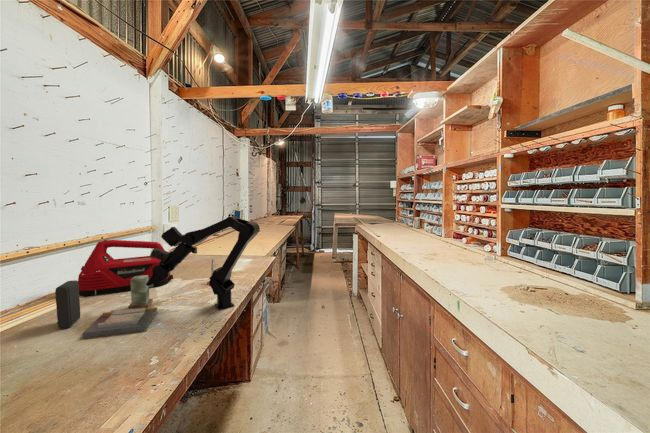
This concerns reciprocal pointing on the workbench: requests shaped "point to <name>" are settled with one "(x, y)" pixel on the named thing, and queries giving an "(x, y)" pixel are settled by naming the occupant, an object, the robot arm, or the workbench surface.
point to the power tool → (116, 269)
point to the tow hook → (212, 269)
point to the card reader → (67, 304)
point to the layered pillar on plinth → (140, 292)
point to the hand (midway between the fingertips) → (150, 281)
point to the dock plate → (121, 322)
